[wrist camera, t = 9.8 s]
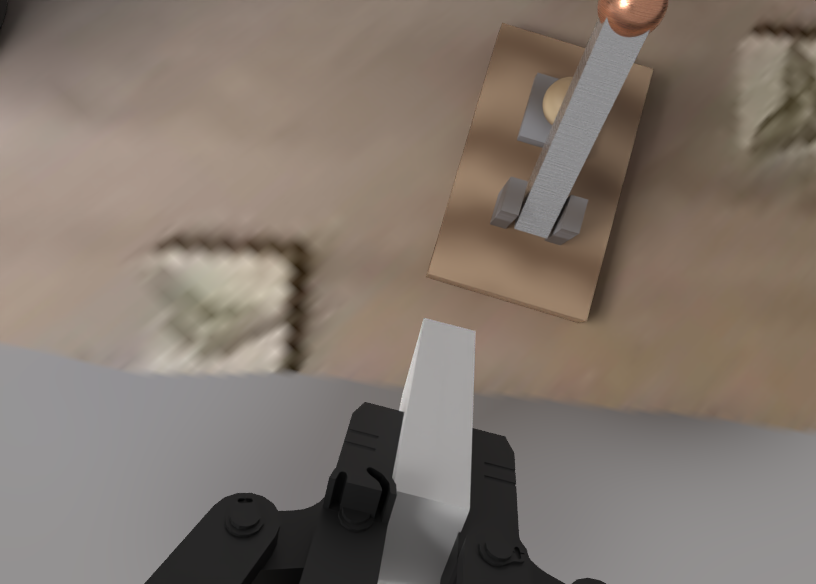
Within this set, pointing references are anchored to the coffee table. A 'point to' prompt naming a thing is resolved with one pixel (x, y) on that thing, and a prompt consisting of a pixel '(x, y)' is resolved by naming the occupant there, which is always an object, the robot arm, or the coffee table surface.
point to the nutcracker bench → (510, 172)
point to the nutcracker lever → (586, 107)
